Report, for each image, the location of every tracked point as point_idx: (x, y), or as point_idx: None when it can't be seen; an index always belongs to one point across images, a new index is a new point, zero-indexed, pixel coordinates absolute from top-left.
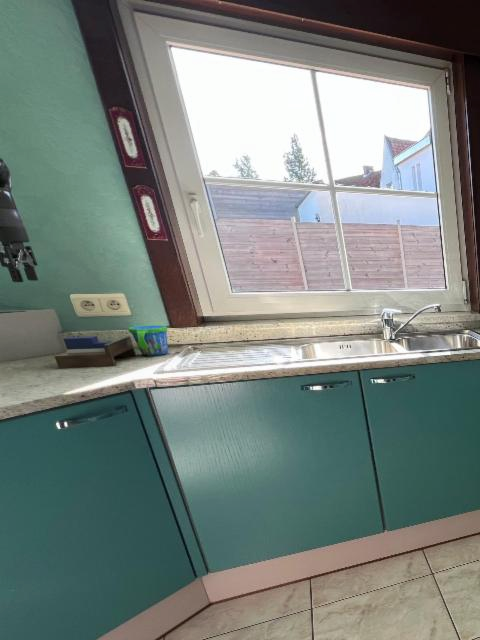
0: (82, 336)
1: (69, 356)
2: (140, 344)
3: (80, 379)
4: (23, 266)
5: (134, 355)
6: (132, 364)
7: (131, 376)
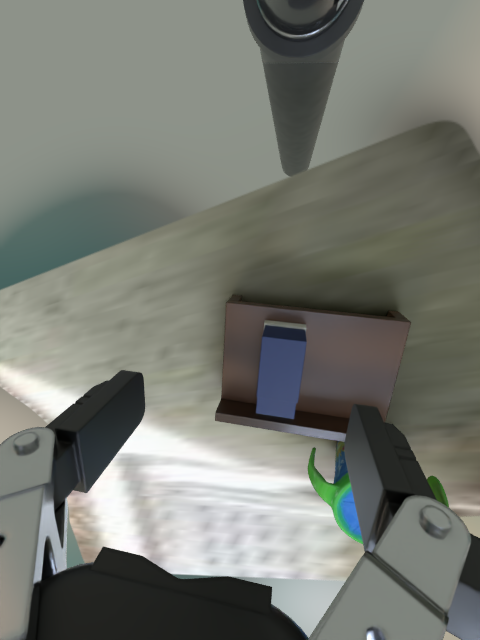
0: (300, 372)
1: (225, 330)
2: (310, 457)
3: (95, 360)
4: (398, 510)
5: None
6: None
7: None
